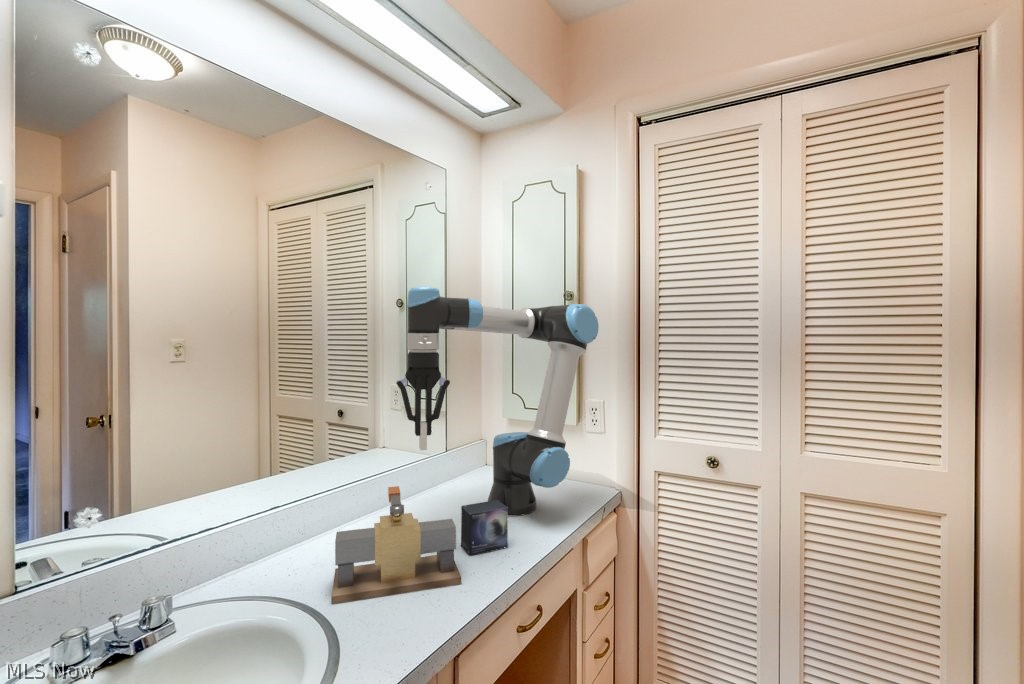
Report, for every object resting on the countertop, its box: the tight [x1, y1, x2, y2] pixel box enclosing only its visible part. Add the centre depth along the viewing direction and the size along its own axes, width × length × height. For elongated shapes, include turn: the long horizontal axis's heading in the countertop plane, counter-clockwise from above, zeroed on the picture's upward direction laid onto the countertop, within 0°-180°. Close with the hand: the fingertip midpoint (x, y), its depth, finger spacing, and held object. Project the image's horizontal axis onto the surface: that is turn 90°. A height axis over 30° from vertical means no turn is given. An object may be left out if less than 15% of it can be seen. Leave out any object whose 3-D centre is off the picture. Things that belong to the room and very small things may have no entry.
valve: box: [334, 512, 457, 588], centre depth 103 cm, size 25×7×13 cm, turn 107°
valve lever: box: [387, 485, 405, 516], centre depth 109 cm, size 15×3×2 cm, turn 17°
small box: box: [460, 500, 509, 556], centre depth 119 cm, size 11×6×10 cm, turn 117°
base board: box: [331, 554, 462, 605], centre depth 103 cm, size 26×12×2 cm, turn 107°
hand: (423, 448), depth 115 cm, fingers closed
